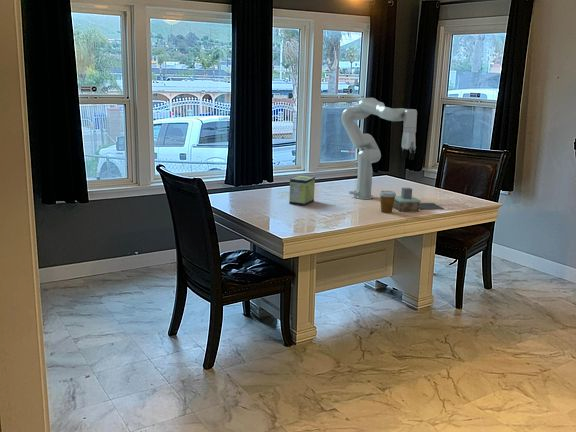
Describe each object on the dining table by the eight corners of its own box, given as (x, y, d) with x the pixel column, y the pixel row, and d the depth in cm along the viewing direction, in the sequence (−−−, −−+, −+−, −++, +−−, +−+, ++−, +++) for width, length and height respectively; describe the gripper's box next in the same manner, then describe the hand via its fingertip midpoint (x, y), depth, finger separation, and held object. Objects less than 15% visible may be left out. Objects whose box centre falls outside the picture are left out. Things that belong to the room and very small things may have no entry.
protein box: (314, 201, 369) (315, 176, 365) (304, 206, 355) (305, 180, 352) (299, 199, 373) (299, 175, 369) (288, 203, 360) (289, 179, 356)
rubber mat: (421, 209, 355) (421, 209, 355) (411, 203, 369) (411, 203, 369) (443, 209, 358) (444, 208, 358) (433, 203, 372) (433, 202, 372)
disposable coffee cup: (396, 211, 349) (397, 191, 346) (392, 214, 341) (393, 194, 338) (380, 209, 353) (382, 189, 350) (376, 212, 345) (377, 192, 342)
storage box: (399, 212, 348) (400, 202, 346) (392, 207, 359) (393, 197, 358) (418, 211, 350) (419, 201, 349) (410, 206, 361) (411, 197, 360)
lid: (400, 202, 346) (401, 190, 344) (391, 197, 358) (392, 186, 356) (420, 202, 348) (421, 190, 346) (411, 197, 361) (412, 186, 359)
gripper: (397, 128, 359) (396, 156, 363) (410, 131, 343) (408, 160, 347) (409, 128, 361) (407, 156, 365) (421, 131, 345) (420, 160, 349)
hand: (408, 158), depth 356 cm, fingers open, 9 cm apart
